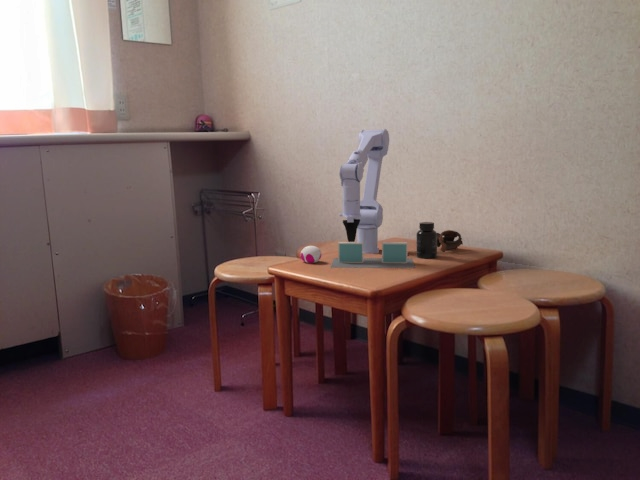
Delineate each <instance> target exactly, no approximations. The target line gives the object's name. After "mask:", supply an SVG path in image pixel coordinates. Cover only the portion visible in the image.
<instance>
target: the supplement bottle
mask: <svg viewBox="0 0 640 480" xmlns="http://www.w3.org/2000/svg"><path fill="white" fill-rule="evenodd" d="M418 228H419V230H418V231H417V232H416V237H415V238H416V258H418V259H422V260H423V259H424V260H430V259H431V260H433V259H437V257H438V247H437V233H438V232H437V231H436V230H435V223H434V222H432V221H422V222H419V226H418Z"/></svg>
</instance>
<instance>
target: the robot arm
mask: <svg viewBox="0 0 640 480" xmlns="http://www.w3.org/2000/svg"><path fill="white" fill-rule="evenodd" d="M389 145H390V133H389V131H388V130H387V129H386V128H384V129H361V130H360V132H359V134H358V148H357V149H355V150H353V152H352V153H351V154H350V156H349V159H348V160H347V161H346V163H343V164H342V165H341V166H340V169H339V179H340V186H341V188H342V213H338V216H339V217H343V218H346V219H343V220H342V224H343V227H344V228H345V232H346V237H347V242H363V254H379V250H380V247H379V246H378V237H379V232H378V231H379V229H378V228H380V227H381V225H382V224H383V221H384V219H383V218H384V214H383V212H384V209H383V206H382V204H381V203H379V202H378V201H377V200H378V199H377V197H378V192H379V184H380V177H381V170H382V163H383V158H384V157H385V156H387V154H388V151H389ZM366 165H367V168H366V174H365V180H364V181H365V182H364V186H363V187H364V189H363V194H362V199H361V181H362V180H363V177H364V171H365V169H364V168H365V166H366ZM356 237H357V238H356ZM356 239H357V240H356Z"/></svg>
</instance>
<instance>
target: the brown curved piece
mask: <svg viewBox="0 0 640 480" xmlns="http://www.w3.org/2000/svg"><path fill="white" fill-rule="evenodd" d="M457 237H458V239H456V238H457ZM455 239H456V240H455ZM463 244H464V243H463V239H462V235H461V233H459V232H458V231H456V230H451V229H447V230H444V231H442V232H441V233H440V232H437V248H440V251H441V252H445V253H446V251H447V250H448V251H449V250H453V249H456V248H457V249H458V247H460V246H461V245H463Z"/></svg>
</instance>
